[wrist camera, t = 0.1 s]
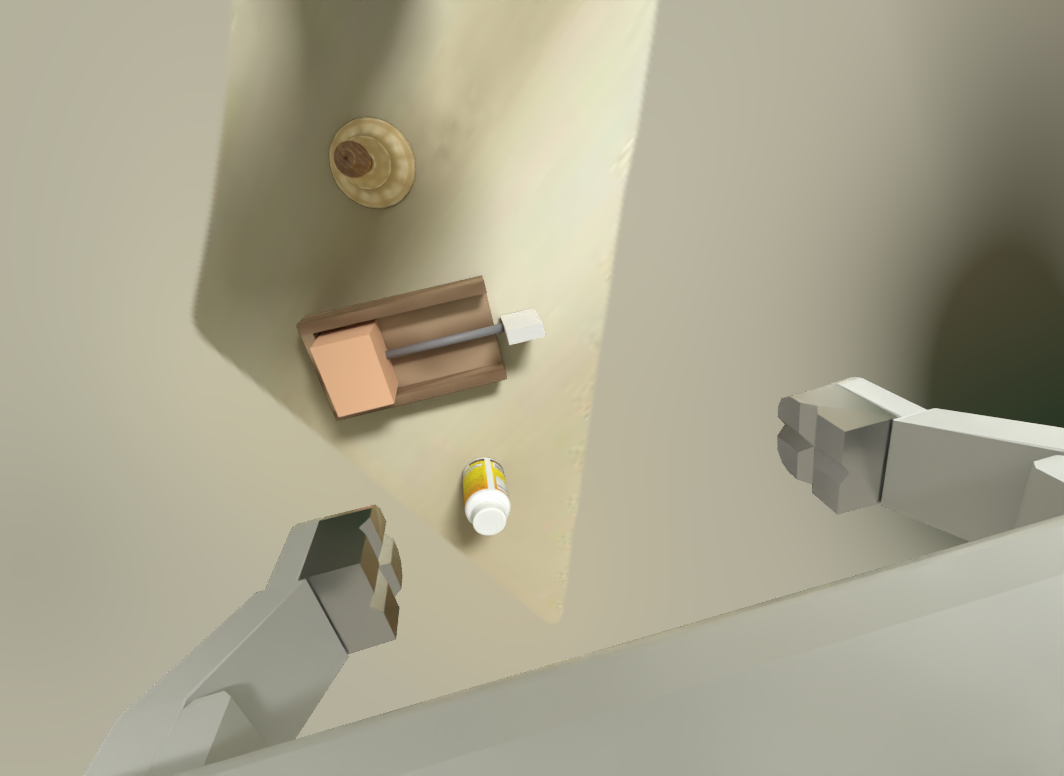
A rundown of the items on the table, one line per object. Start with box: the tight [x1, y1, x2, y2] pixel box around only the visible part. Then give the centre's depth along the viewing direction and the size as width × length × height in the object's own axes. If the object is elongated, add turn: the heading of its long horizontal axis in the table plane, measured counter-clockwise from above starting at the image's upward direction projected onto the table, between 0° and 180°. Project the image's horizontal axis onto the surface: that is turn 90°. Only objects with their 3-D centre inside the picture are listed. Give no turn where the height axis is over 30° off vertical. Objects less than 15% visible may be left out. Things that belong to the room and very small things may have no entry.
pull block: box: [310, 308, 545, 417], centre depth 54 cm, size 8×24×6 cm, turn 101°
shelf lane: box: [296, 276, 507, 421], centre depth 55 cm, size 12×20×4 cm, turn 101°
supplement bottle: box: [462, 457, 511, 535], centre depth 61 cm, size 6×6×10 cm
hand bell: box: [329, 117, 416, 208], centre depth 42 cm, size 8×8×16 cm
